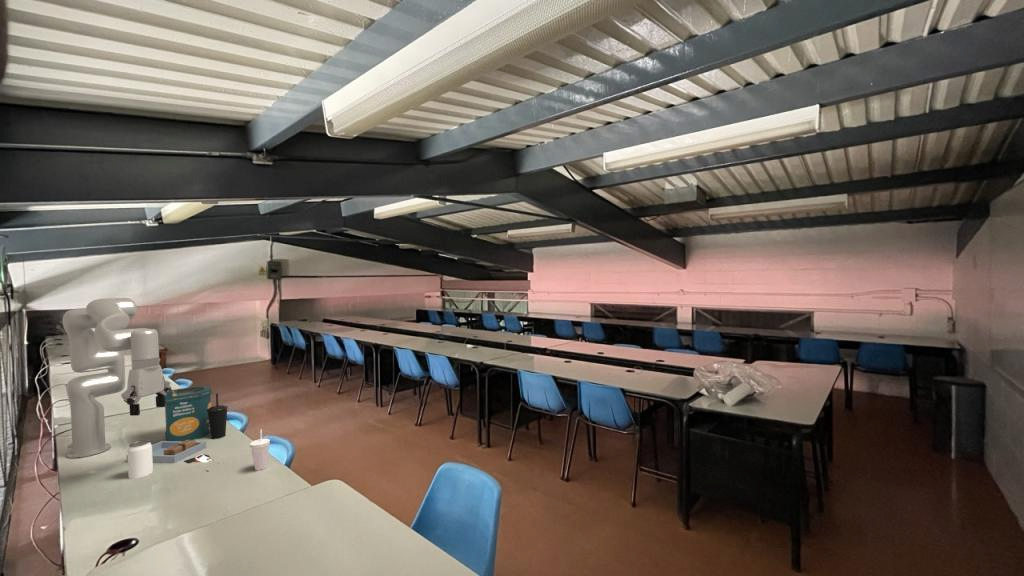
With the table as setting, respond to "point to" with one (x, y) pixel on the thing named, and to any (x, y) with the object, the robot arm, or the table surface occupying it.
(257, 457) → the smoothie
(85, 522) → the table surface
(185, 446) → the walnut block
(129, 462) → the can
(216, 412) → the drinking cup
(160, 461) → the tray
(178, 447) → the walnut block
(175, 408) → the donation box
